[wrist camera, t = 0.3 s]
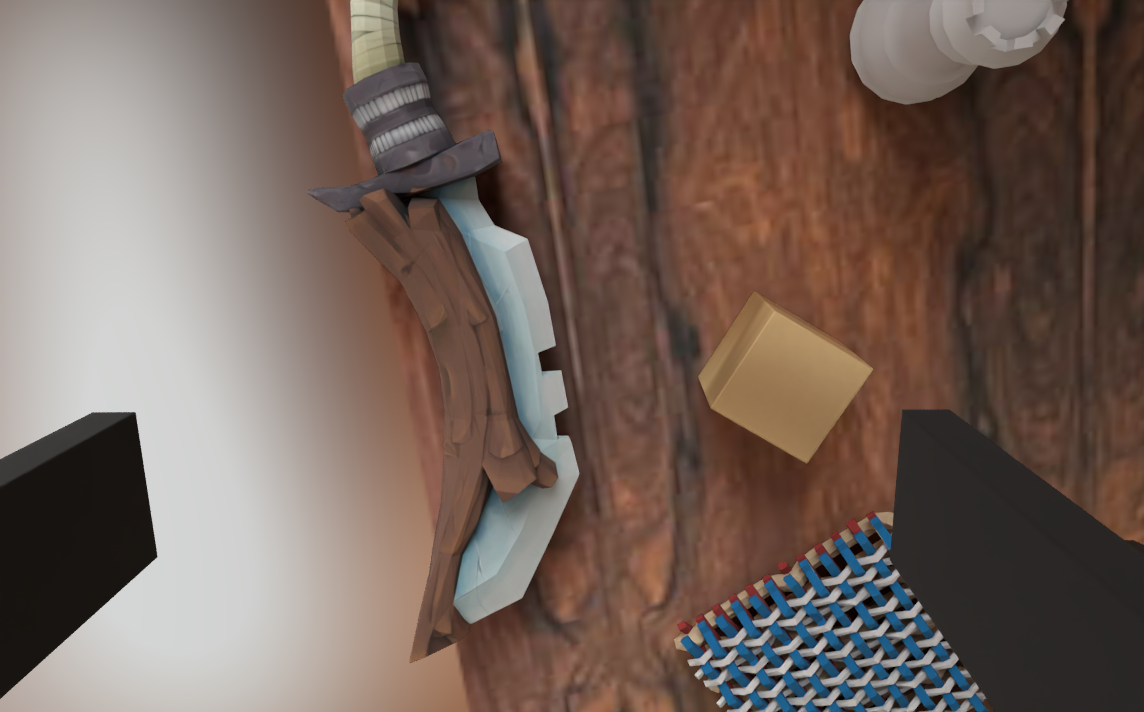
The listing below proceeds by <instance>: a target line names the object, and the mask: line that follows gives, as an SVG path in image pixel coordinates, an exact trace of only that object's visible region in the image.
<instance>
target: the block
mask: <svg viewBox="0 0 1144 712" xmlns="http://www.w3.org/2000/svg"><path fill="white" fill-rule="evenodd" d="M872 371H873V368H872V367H870V366H869V365H868V364H867V363H866V362H864V361H863V360H862V359H861V358H859V357H858V356H857V355H856V354H855V353H853V352H852V351H851V350H850V349H848V348H847V347H846V346H845V345H844V344H842V343H841V342H840V341H838V340H836V339H835V338H833V337H831V336H829V335H828V334H826V333H824V332H823V331H821V330H819V329H818V328H816V327H814V326H813V325H811V324H809V323H808V322H806V321H804V320H803V319H801V318H799V317H798V316H796V315H794V314H792V313H791V312H789V311H787V310H786V309H784V308H782V307H781V306H779V305H777V304H776V303H774V302H772V301H771V300H769V299H767V298H766V297H764V296H762V295H761V294H759V293H757V292H755V291H754V292H753V293H752V295H751V296H750V298H749V299H748V301H747V302H746V304H745V306H744V307H743V309H742V310H741V312H740V313H739V315H738V316H737V318H736V319H735V321H734V322H733V324H732V326H731V327H730V329H729V330H728V332H727V333H726V335H725V336H724V338H723V339H722V341H721V342H720V344H719V346H718V347H717V349H716V350H715V352H714V353H713V355H712V356H711V358H710V359H709V361H708V363H707V364H706V366H705V367H704V369H703V370H702V372H701V373H700V375H699V376H698V378H699V381H700V383H701V386H702V388H703V391H704V393H705V396H706V398H707V401H708V403H709V405H710V408H711V409H712V410H714V411H716V412H717V413H719V414H721V415H723V416H724V417H726V418H728V419H729V420H731V421H733V422H735V423H736V424H738V425H740V426H742V427H743V428H745V429H747V430H749V431H750V432H752V433H754V434H756V435H757V436H759V437H761V438H762V439H764V440H766V441H768V442H769V443H771V444H773V445H775V446H776V447H778V448H780V449H782V450H783V451H785V452H787V453H788V454H790V455H792V456H794V457H795V458H797V459H799V460H801V461H802V462H804V463H808V462H809V460H810V459H811V458H812V456H813V455H814V453H815V452H816V451H817V449H818V448H819V446H820V445H821V443H822V442H823V441H824V439H825V438H826V436H827V435H828V434H829V432H830V431H831V429H832V428H833V426H834V425H835V424H836V422H837V421H838V419H839V418H840V417H841V415H842V414H843V412H844V411H845V410H846V408H847V407H848V405H849V404H850V402H851V401H852V400H853V398H854V397H855V395H856V394H857V393H858V391H859V390H860V388H861V387H862V385H863V384H864V383H865V381H866V380H867V378H868V377H869V376H870V374H871V373H872Z"/></svg>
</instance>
